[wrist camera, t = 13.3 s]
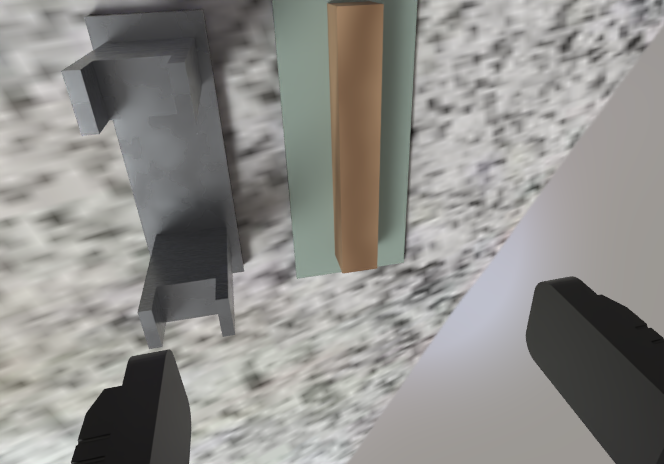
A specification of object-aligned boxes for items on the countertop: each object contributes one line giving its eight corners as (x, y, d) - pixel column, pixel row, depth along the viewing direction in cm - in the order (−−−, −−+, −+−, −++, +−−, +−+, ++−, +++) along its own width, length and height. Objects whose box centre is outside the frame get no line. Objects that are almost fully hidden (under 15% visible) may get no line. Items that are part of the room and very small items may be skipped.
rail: (370, 1, 31) (383, 4, 29) (367, 249, 41) (377, 268, 39) (327, 3, 31) (336, 6, 28) (334, 254, 41) (342, 273, 38)
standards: (203, 9, 30) (196, 26, 21) (243, 265, 40) (250, 349, 31) (88, 15, 29) (29, 36, 20) (159, 277, 39) (141, 368, 30)
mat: (416, -36, 31) (419, -36, 31) (402, 260, 43) (403, 262, 43) (269, -29, 30) (269, -29, 29) (296, 276, 42) (297, 278, 41)
